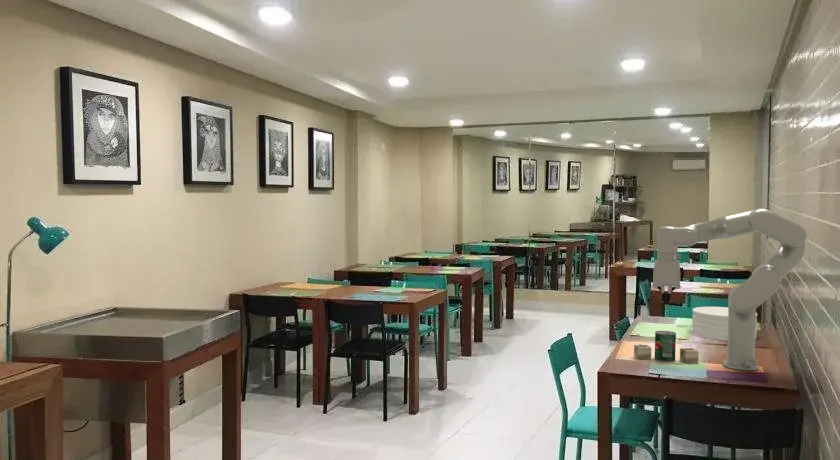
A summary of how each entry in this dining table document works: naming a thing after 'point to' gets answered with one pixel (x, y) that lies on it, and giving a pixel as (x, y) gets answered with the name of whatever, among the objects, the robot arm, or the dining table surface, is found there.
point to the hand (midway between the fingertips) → (665, 302)
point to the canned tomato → (665, 346)
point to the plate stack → (711, 322)
